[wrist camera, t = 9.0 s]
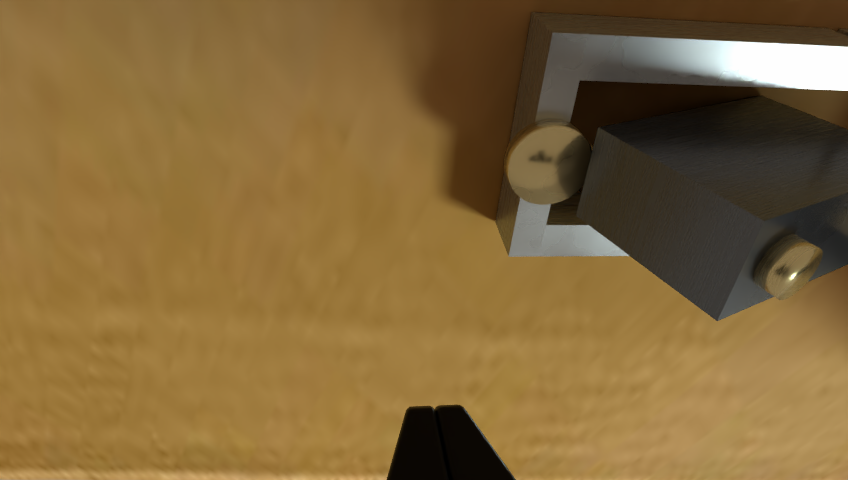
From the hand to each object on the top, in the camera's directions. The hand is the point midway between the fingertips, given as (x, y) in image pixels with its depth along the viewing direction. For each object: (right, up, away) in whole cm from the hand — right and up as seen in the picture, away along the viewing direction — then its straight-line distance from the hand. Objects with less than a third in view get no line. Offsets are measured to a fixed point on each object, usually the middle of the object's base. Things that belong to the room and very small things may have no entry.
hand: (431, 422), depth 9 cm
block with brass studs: (+8, +5, +9) cm, 13 cm away
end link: (+7, +6, +10) cm, 14 cm away
